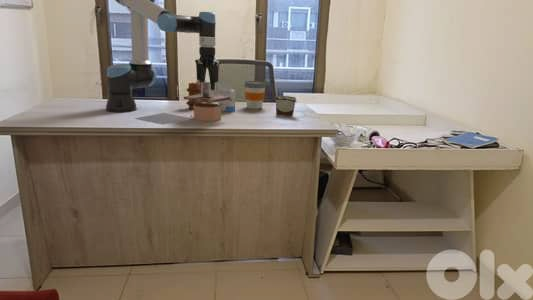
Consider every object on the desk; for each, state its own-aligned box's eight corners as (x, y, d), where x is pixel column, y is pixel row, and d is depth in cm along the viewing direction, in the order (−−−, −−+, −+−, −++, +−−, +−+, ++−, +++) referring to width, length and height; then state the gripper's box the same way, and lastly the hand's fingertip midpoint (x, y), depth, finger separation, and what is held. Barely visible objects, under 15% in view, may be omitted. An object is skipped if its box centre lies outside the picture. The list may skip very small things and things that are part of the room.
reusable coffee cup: (268, 107, 230) (270, 82, 225) (257, 110, 219) (258, 84, 215) (251, 105, 236) (252, 80, 232) (239, 107, 226) (240, 81, 222)
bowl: (188, 119, 189) (188, 105, 187) (205, 115, 200) (205, 102, 198) (208, 123, 183) (208, 108, 181) (225, 119, 193) (225, 105, 191)
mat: (134, 119, 183) (133, 118, 183) (163, 113, 199) (163, 112, 198) (162, 125, 174) (162, 124, 174) (191, 119, 189) (191, 118, 189)
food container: (298, 115, 211) (300, 97, 208) (294, 117, 205) (296, 98, 203) (278, 112, 216) (279, 95, 213) (273, 114, 210) (274, 96, 207)
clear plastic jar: (235, 110, 216) (236, 84, 212) (231, 112, 211) (232, 85, 207) (222, 109, 219) (222, 83, 215) (217, 110, 214) (218, 83, 210)
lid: (183, 99, 186) (183, 82, 183) (205, 95, 199) (205, 79, 196) (209, 103, 178) (209, 85, 175) (230, 99, 191) (230, 82, 188)
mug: (198, 110, 211) (198, 83, 207) (184, 109, 212) (184, 82, 208) (207, 106, 225) (207, 80, 220) (194, 105, 226) (194, 79, 222)
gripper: (188, 45, 182) (189, 94, 189) (216, 47, 174) (216, 98, 180) (198, 45, 189) (199, 93, 195) (226, 47, 180) (226, 97, 187)
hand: (207, 95), depth 188 cm, fingers closed on lid, 4 cm apart
